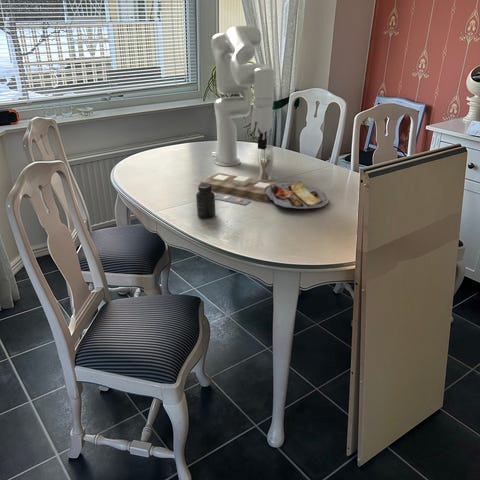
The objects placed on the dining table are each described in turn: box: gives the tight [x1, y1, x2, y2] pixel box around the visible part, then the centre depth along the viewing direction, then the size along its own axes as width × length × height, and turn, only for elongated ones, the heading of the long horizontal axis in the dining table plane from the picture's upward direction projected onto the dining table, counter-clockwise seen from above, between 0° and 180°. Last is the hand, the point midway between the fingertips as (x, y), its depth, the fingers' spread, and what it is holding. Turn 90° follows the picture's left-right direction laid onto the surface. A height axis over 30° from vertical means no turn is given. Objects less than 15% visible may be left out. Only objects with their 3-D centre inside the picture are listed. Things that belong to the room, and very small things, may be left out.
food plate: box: [265, 180, 329, 210], centre depth 186 cm, size 25×23×4 cm
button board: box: [200, 172, 277, 203], centre depth 198 cm, size 32×14×3 cm, turn 60°
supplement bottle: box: [195, 183, 216, 220], centre depth 172 cm, size 7×7×12 cm
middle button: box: [233, 175, 251, 186], centre depth 198 cm, size 5×5×3 cm
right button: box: [254, 182, 271, 190], centre depth 194 cm, size 5×5×3 cm
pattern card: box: [214, 192, 252, 206], centre depth 190 cm, size 20×5×1 cm, turn 60°
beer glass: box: [257, 144, 275, 182], centre depth 208 cm, size 7×7×15 cm
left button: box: [213, 175, 229, 183], centre depth 202 cm, size 5×5×3 cm
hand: (262, 148), depth 187 cm, fingers closed
